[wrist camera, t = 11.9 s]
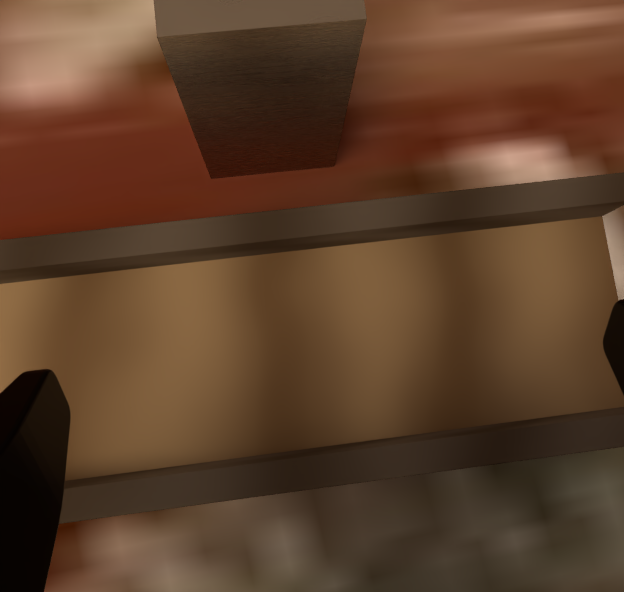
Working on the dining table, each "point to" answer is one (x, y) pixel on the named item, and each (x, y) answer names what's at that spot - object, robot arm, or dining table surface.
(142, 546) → the dining table surface
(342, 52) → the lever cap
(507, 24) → the dining table surface
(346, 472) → the tan piece
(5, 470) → the robot arm
